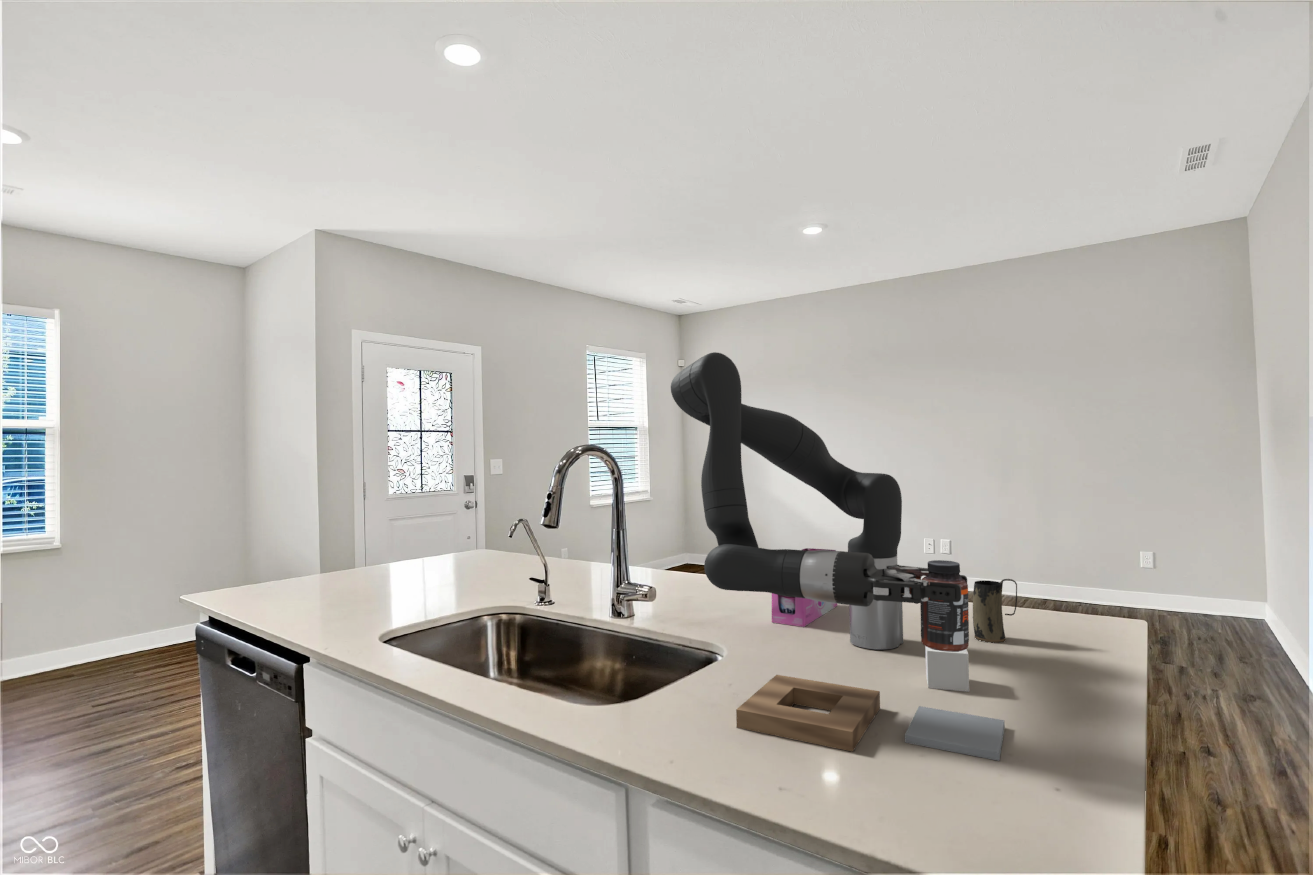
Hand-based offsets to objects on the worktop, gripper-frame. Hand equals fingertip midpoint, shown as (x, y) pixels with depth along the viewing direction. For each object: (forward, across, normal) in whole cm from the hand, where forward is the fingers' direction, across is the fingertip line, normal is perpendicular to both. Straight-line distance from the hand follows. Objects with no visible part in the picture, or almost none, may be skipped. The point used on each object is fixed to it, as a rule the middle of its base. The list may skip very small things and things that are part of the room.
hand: (963, 588), depth 89 cm
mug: (0, +50, +20) cm, 54 cm away
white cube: (-5, +20, +20) cm, 29 cm away
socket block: (-20, -3, +20) cm, 28 cm away
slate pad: (-1, 0, +20) cm, 20 cm away
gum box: (-40, +54, +20) cm, 70 cm away
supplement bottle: (-2, 0, +8) cm, 9 cm away
